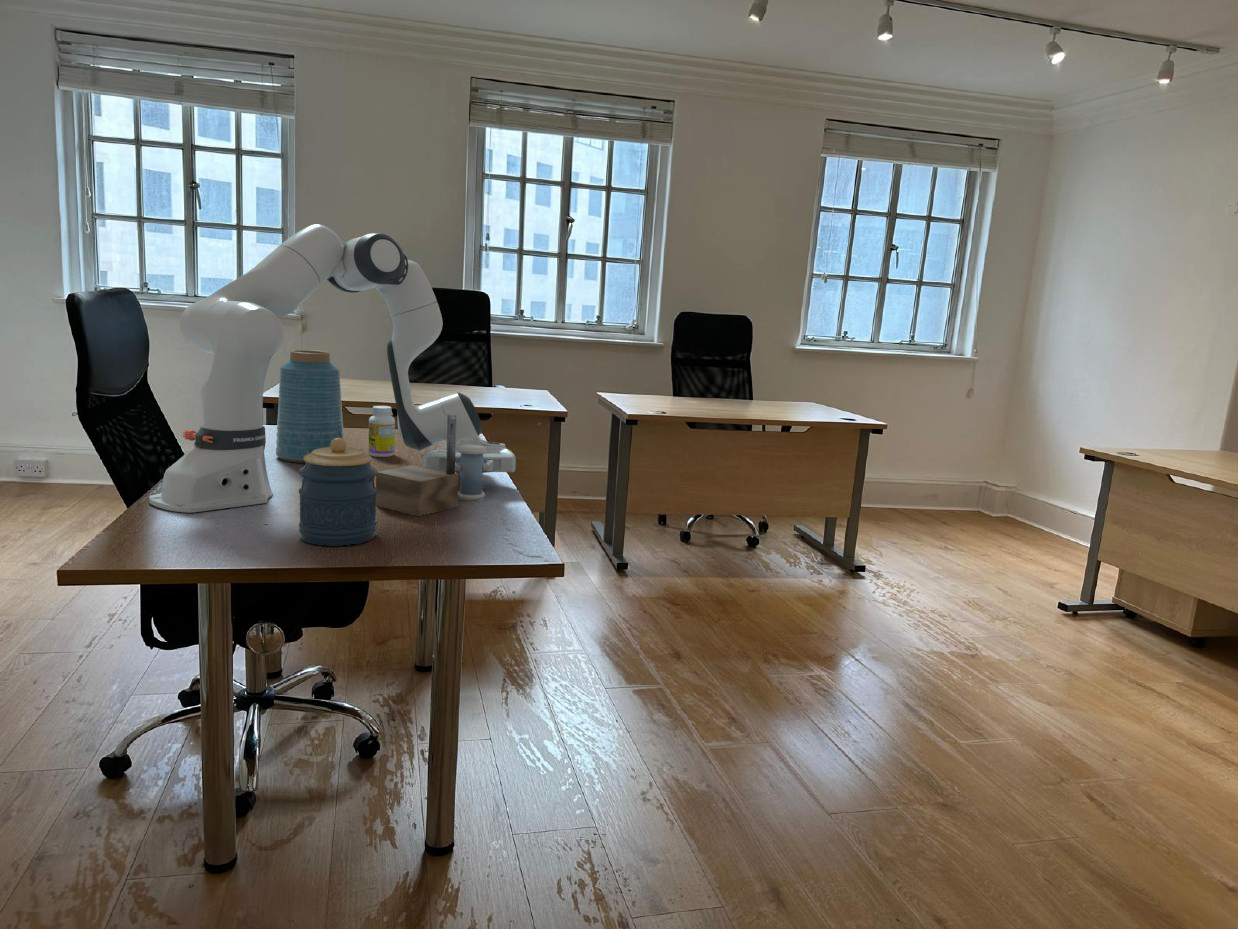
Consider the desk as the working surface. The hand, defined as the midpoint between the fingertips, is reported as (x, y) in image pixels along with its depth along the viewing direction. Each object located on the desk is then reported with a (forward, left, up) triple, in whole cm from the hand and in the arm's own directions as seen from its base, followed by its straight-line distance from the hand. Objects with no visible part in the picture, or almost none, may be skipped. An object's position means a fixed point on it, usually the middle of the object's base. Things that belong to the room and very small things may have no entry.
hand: (471, 468), depth 181 cm
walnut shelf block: (-13, +3, -7) cm, 15 cm away
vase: (+3, +56, -7) cm, 56 cm away
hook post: (-10, -4, +1) cm, 11 cm away
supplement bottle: (+19, +48, -7) cm, 52 cm away
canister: (-38, -3, -7) cm, 39 cm away
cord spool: (+1, +1, -7) cm, 7 cm away
